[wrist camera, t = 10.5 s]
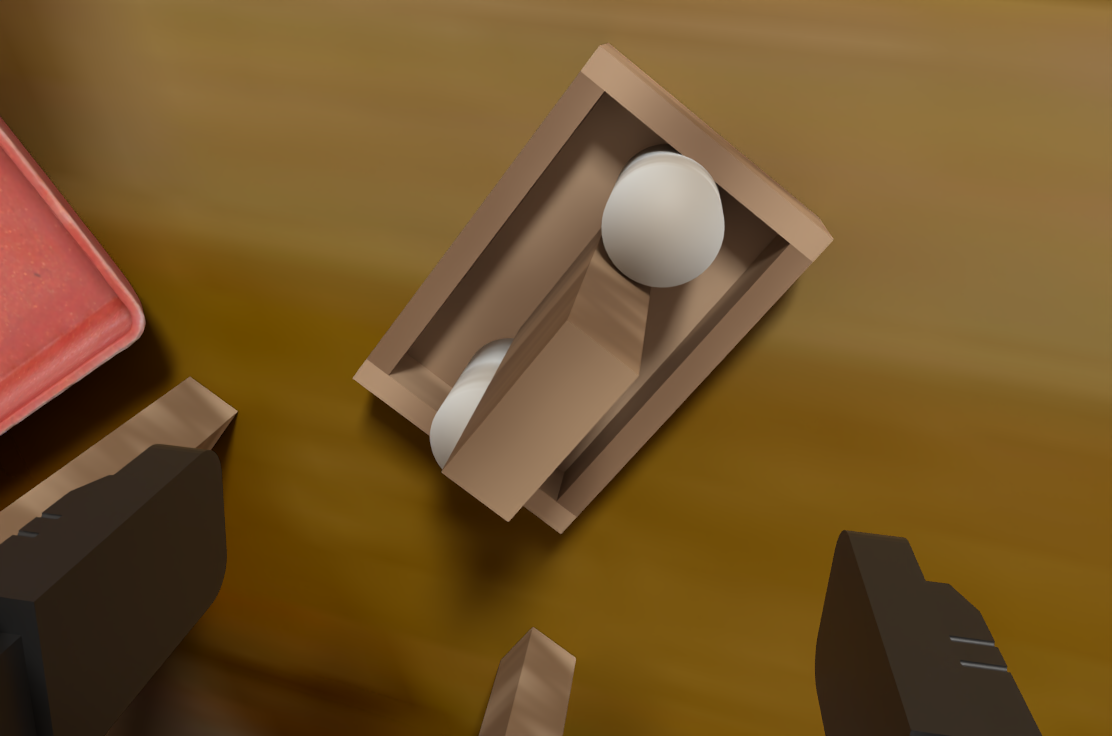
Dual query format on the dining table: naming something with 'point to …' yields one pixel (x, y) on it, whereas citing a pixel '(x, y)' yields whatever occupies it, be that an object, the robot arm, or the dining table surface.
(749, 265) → the caddy
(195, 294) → the dining table surface
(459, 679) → the dining table surface
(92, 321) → the plant saucer
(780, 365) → the dining table surface
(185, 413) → the stool
